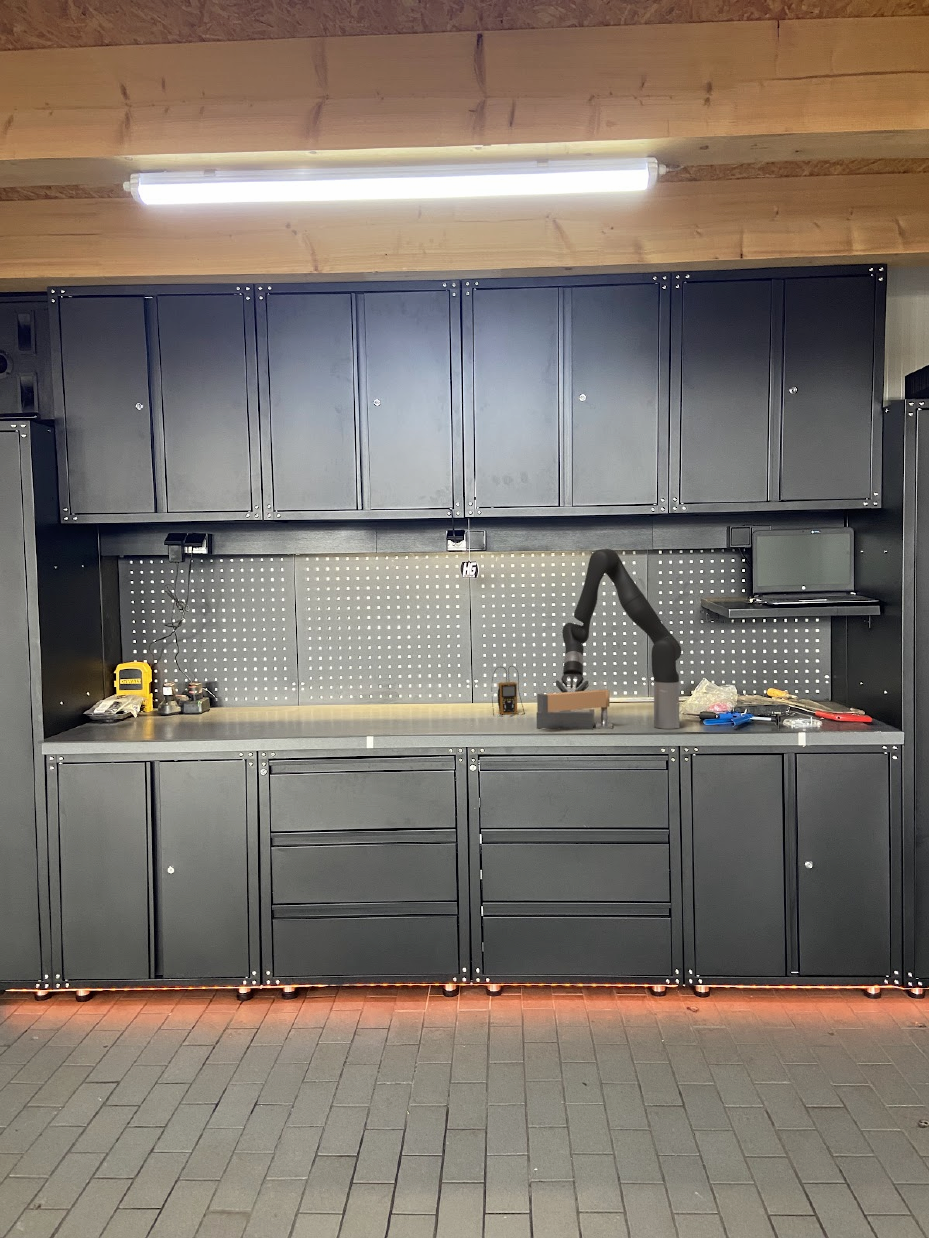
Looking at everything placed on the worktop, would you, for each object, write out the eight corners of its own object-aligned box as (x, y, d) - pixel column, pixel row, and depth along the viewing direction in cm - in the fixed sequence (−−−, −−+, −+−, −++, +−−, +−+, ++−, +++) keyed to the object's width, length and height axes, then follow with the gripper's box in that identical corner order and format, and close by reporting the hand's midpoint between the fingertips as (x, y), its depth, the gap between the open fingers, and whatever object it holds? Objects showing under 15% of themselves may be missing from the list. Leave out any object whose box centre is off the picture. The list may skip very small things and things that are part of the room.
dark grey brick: (594, 724, 352) (594, 708, 351) (592, 729, 342) (592, 712, 342) (539, 723, 356) (539, 708, 355) (536, 728, 346) (536, 712, 346)
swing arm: (605, 705, 348) (605, 688, 348) (611, 707, 344) (611, 690, 344) (537, 711, 337) (537, 693, 337) (542, 712, 333) (542, 695, 333)
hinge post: (612, 726, 348) (612, 705, 348) (612, 728, 343) (612, 708, 342) (596, 725, 350) (596, 705, 349) (595, 728, 344) (595, 707, 343)
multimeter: (497, 718, 371) (496, 668, 370) (490, 714, 381) (489, 666, 380) (531, 716, 375) (531, 667, 374) (523, 712, 385) (523, 665, 384)
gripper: (555, 659, 353) (552, 696, 342) (590, 659, 350) (588, 696, 339) (557, 671, 359) (554, 707, 347) (591, 671, 356) (589, 708, 345)
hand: (570, 702), depth 343 cm, fingers closed
